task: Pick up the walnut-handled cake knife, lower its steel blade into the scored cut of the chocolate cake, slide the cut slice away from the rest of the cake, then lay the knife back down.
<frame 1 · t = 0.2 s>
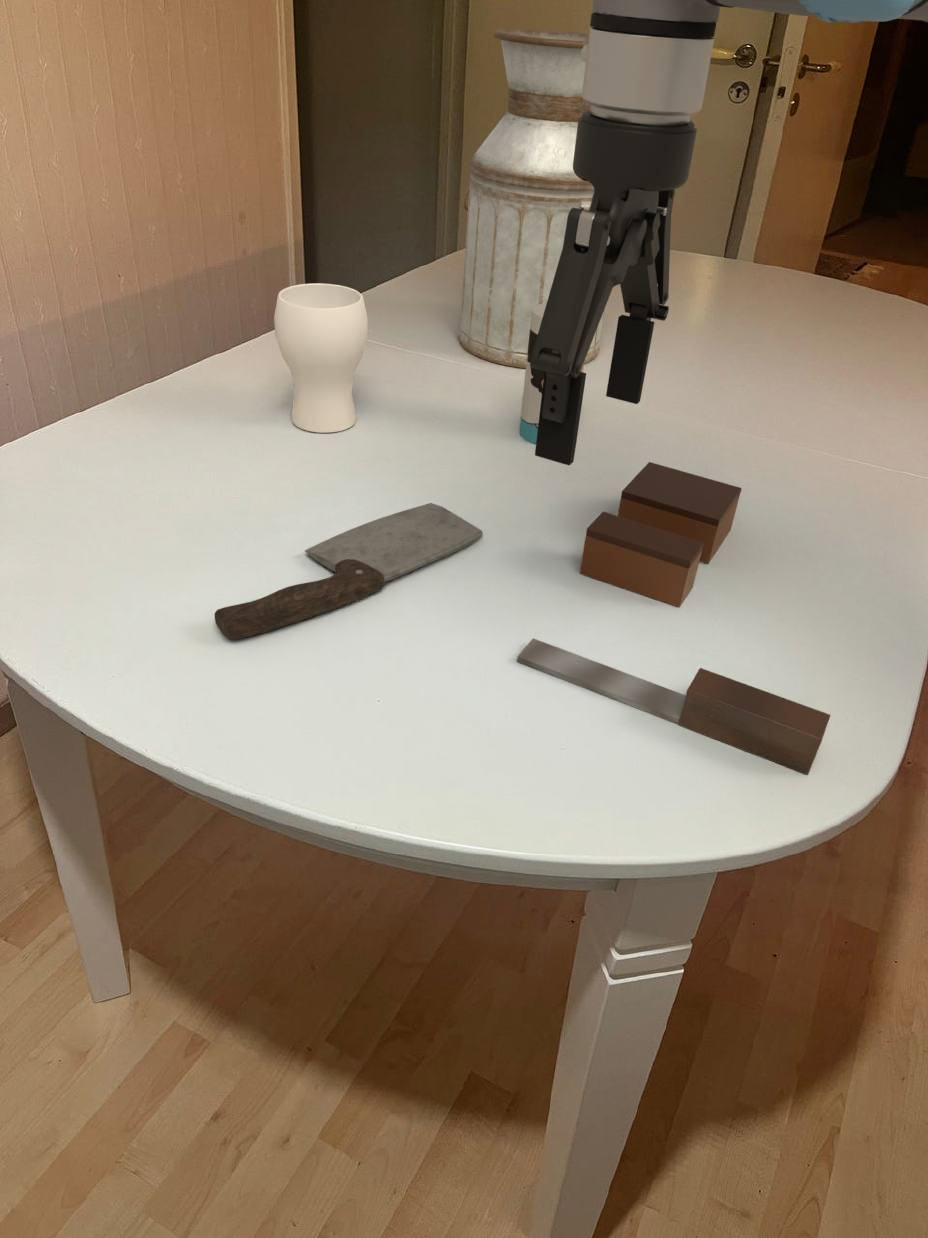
hand: (590, 427, 71), 19 cm above the table, tool pointing down, fingers open, 13 cm apart
milk can: (528, 345, 140), on the table
cake slice: (635, 580, 88), on the table
knife: (671, 708, 73), on the table
cup: (324, 421, 113), on the table
cleaver: (350, 573, 86), on the table
cake: (672, 532, 96), on the table
cup 2: (546, 435, 114), on the table
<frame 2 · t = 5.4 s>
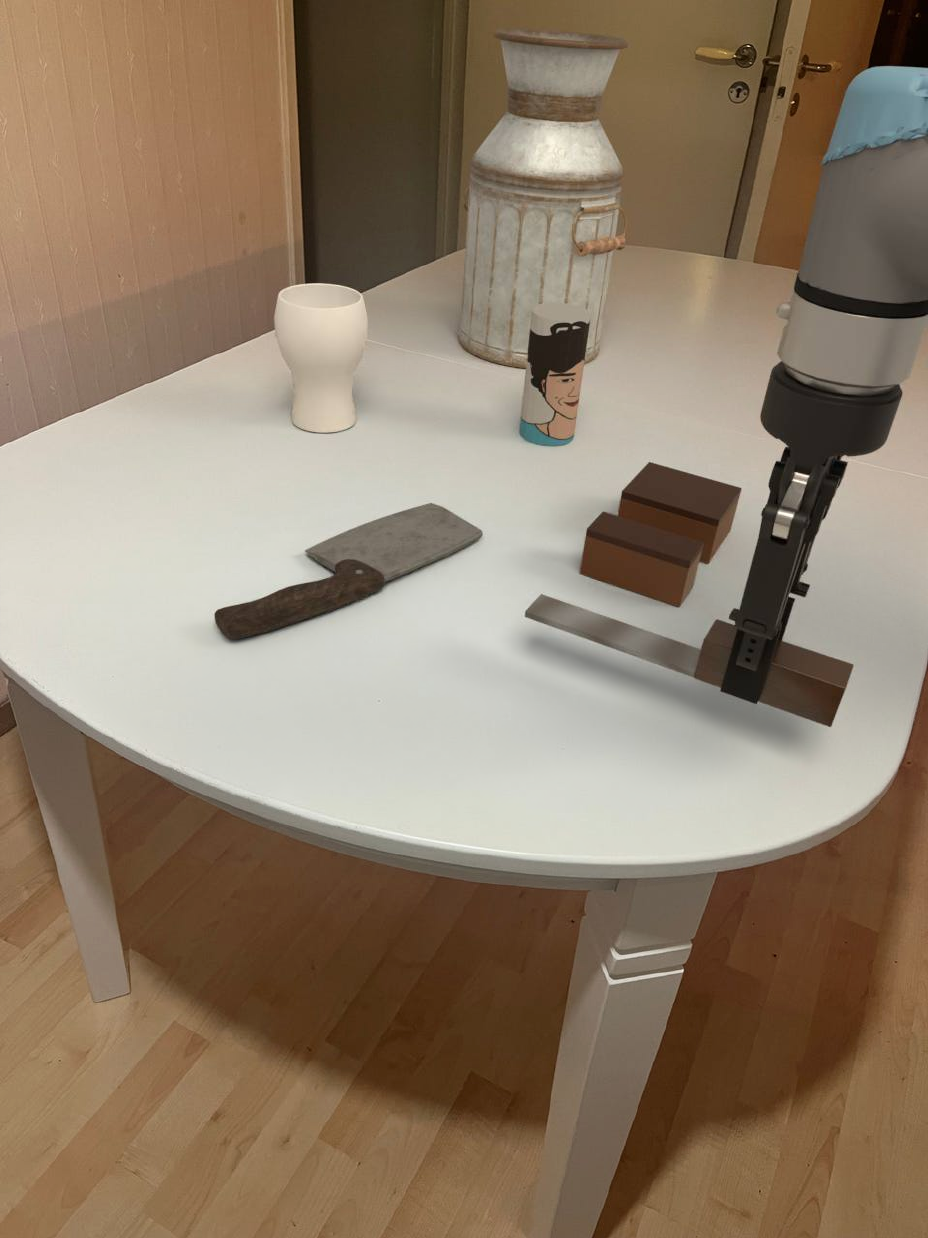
hand: (746, 680, 68), 5 cm above the table, tool pointing down, fingers closed on knife, 3 cm apart
knife: (686, 663, 70), point 5 cm above the table, touching gripper
everything else where it was.
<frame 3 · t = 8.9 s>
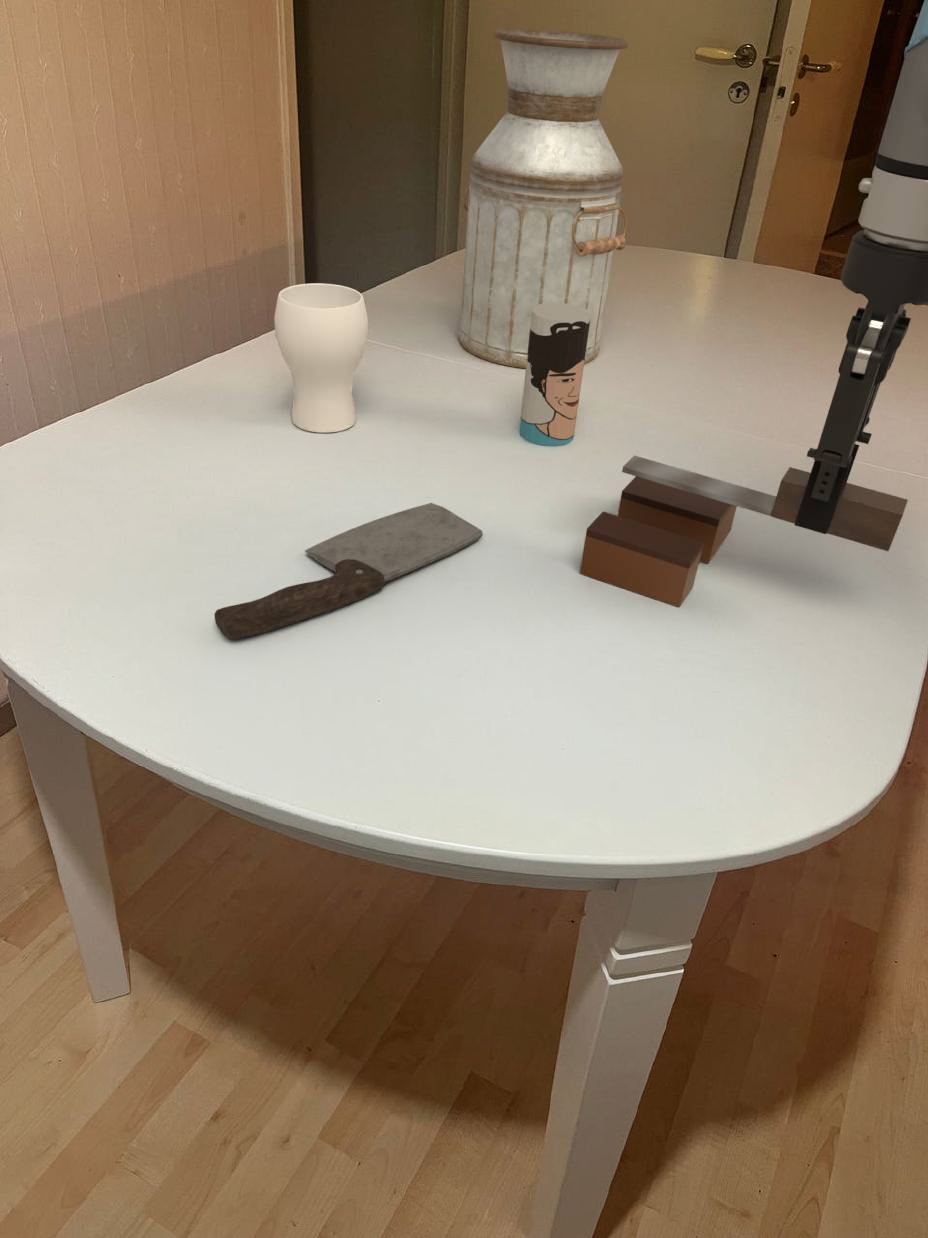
hand: (815, 518, 81), 9 cm above the table, tool pointing down, fingers closed on knife, 3 cm apart
knife: (763, 506, 83), point 9 cm above the table, touching gripper
everything else where it was.
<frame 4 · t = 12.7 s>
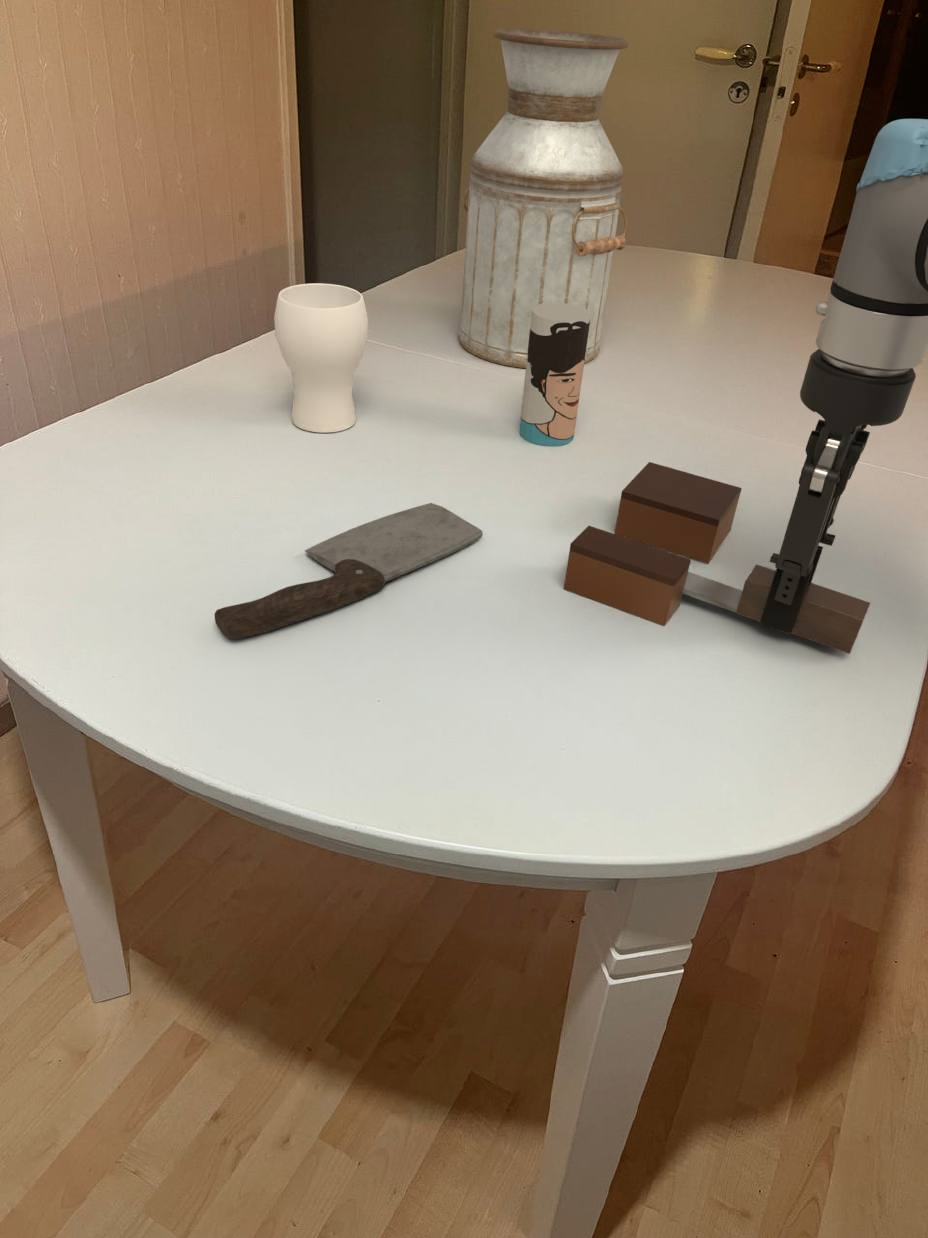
hand: (781, 615, 82), 2 cm above the table, tool pointing down, fingers closed on knife, 3 cm apart
cake slice: (621, 597, 85), on the table, touching knife
knife: (730, 601, 84), point 1 cm above the table, touching cake slice, gripper
everything else where it was.
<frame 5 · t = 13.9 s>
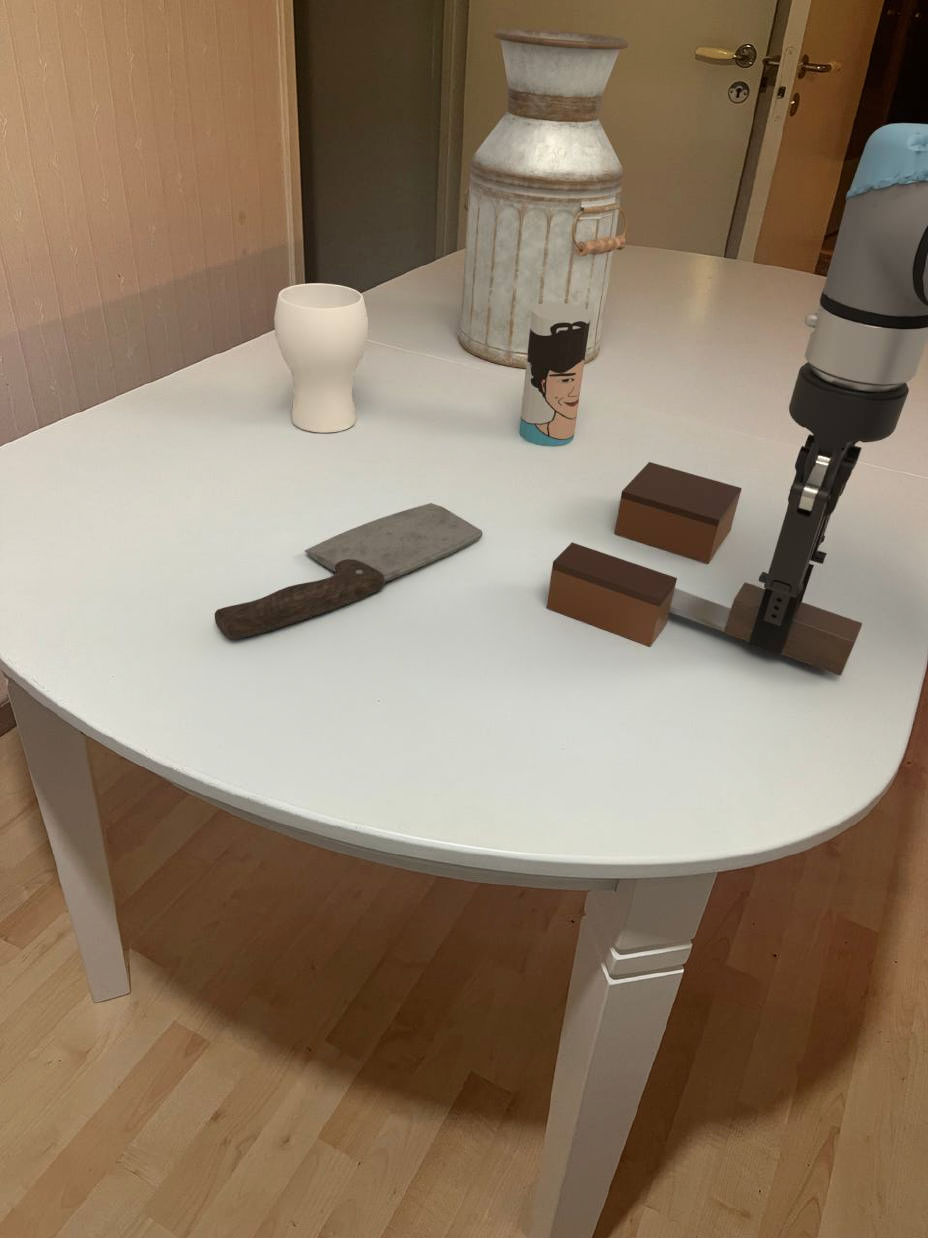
hand: (771, 635, 79), 2 cm above the table, tool pointing down, fingers closed on knife, 3 cm apart
cake slice: (605, 616, 83), on the table, touching knife
knife: (717, 619, 81), point 1 cm above the table, touching cake slice, gripper
everything else where it was.
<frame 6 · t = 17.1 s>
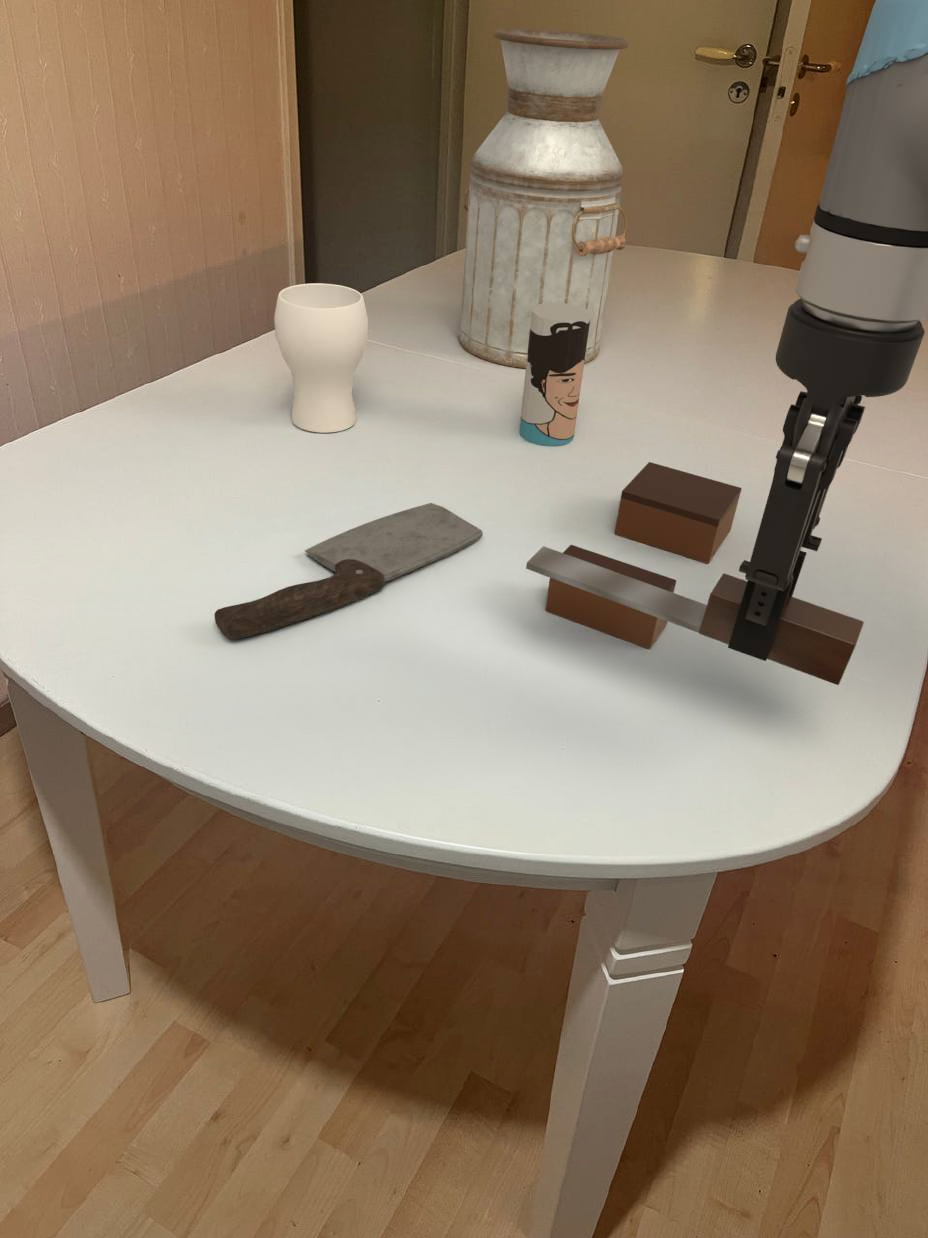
hand: (755, 637, 66), 9 cm above the table, tool pointing down, fingers closed on knife, 3 cm apart
cake slice: (605, 618, 82), on the table
knife: (691, 618, 68), point 9 cm above the table, touching gripper
everything else where it was.
when the fingers open (0 cm above the table, at t = 19.3 s): knife stays where it is, on the table.
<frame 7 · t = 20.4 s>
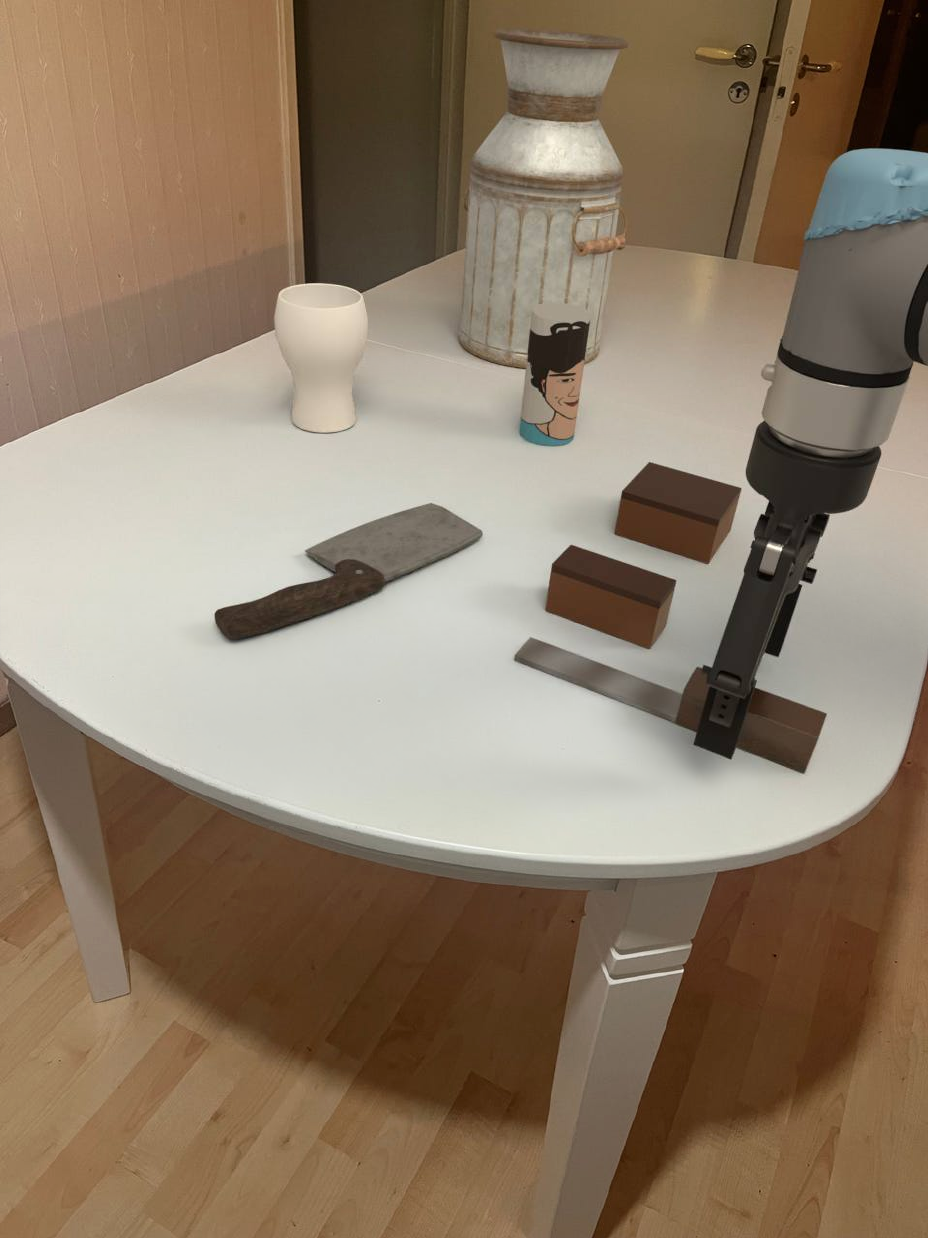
hand: (739, 696, 69), 4 cm above the table, tool pointing down, fingers open, 13 cm apart
knife: (669, 707, 73), on the table
everything else where it was.
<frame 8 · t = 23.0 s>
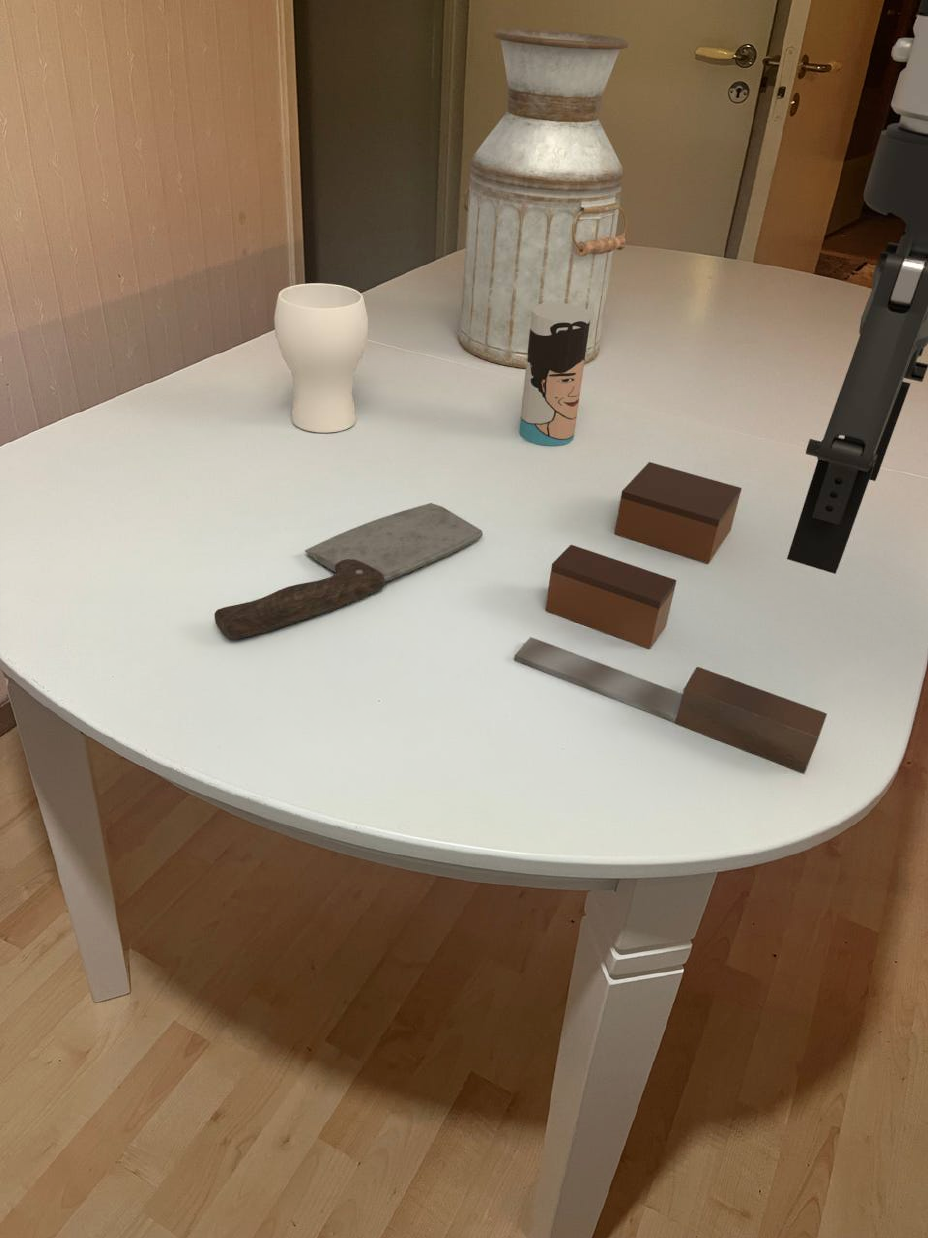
hand: (835, 515, 57), 21 cm above the table, tool pointing down, fingers open, 13 cm apart
nothing on the table moved.
at the end: cake slice inside the target area on the table beside the cake (0.5 cm from its centre), on the table; cake moved 0.0 cm from its start; the gripper is holding nothing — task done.
